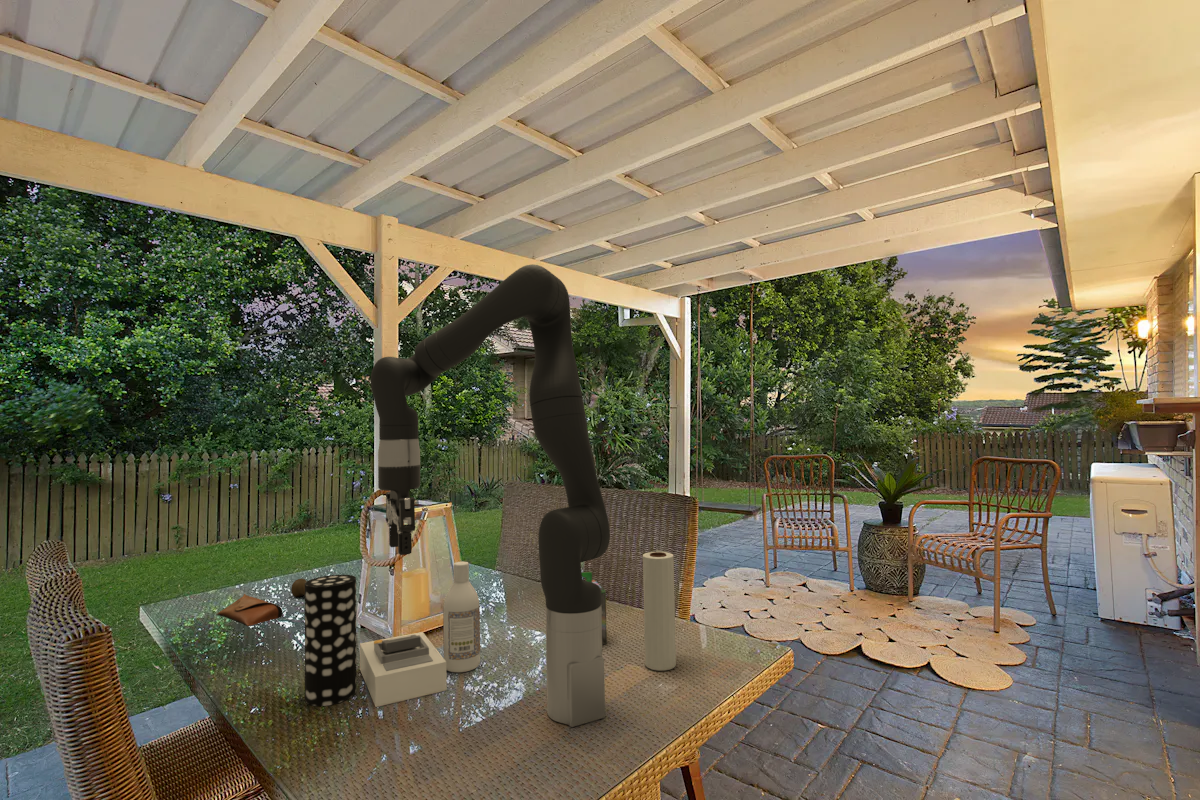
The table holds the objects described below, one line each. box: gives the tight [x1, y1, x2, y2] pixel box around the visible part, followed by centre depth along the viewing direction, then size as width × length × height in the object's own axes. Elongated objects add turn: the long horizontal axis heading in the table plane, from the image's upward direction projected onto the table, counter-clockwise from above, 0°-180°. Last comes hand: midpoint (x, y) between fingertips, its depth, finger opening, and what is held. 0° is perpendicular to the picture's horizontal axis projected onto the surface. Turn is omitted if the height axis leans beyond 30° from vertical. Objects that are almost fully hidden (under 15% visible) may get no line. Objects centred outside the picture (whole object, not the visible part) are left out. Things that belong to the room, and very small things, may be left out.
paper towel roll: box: [642, 549, 677, 672], centre depth 117 cm, size 7×6×21 cm
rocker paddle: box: [382, 635, 421, 653], centre depth 112 cm, size 5×6×2 cm
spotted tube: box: [304, 574, 357, 707], centre depth 106 cm, size 8×8×20 cm
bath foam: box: [442, 561, 481, 673], centre depth 118 cm, size 7×7×20 cm
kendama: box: [290, 578, 308, 598], centre depth 165 cm, size 6×10×20 cm
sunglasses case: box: [215, 593, 283, 627], centre depth 152 cm, size 18×7×7 cm
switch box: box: [359, 631, 448, 708], centre depth 112 cm, size 18×12×6 cm, turn 30°
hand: (400, 550), depth 113 cm, fingers open, 8 cm apart
